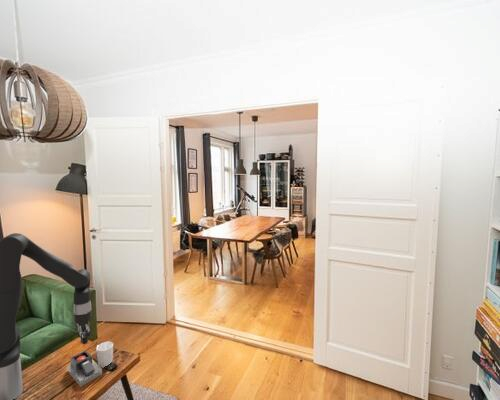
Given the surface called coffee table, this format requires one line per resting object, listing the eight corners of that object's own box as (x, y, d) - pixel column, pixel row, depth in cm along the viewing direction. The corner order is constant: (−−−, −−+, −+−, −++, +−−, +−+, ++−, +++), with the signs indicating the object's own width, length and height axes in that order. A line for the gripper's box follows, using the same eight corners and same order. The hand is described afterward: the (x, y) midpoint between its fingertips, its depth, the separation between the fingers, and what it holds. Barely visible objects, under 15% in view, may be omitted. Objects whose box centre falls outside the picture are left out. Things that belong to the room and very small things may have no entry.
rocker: (86, 375, 129) (87, 373, 128) (81, 366, 133) (81, 363, 132) (94, 371, 131) (94, 368, 131) (88, 362, 135) (88, 359, 135)
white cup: (102, 370, 136) (101, 352, 135) (94, 365, 141) (93, 347, 140) (116, 361, 143) (116, 344, 142) (108, 356, 147) (107, 339, 146)
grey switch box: (80, 386, 126) (79, 373, 125) (67, 371, 136) (67, 358, 135) (102, 374, 134) (101, 361, 133) (88, 360, 144) (88, 348, 143)
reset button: (78, 365, 134) (78, 362, 134) (74, 361, 136) (74, 359, 136) (87, 360, 137) (87, 358, 137) (84, 357, 140) (84, 354, 140)
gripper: (68, 308, 132) (70, 341, 134) (79, 318, 124) (81, 352, 125) (85, 303, 138) (86, 334, 139) (96, 311, 130) (98, 344, 131)
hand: (84, 342), depth 132 cm, fingers closed
